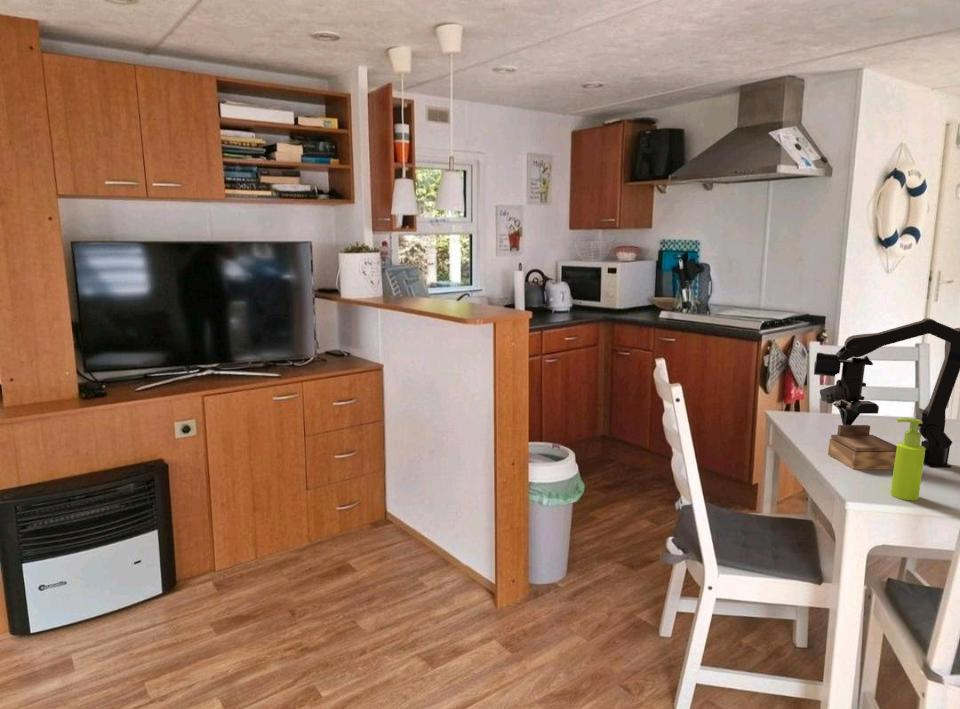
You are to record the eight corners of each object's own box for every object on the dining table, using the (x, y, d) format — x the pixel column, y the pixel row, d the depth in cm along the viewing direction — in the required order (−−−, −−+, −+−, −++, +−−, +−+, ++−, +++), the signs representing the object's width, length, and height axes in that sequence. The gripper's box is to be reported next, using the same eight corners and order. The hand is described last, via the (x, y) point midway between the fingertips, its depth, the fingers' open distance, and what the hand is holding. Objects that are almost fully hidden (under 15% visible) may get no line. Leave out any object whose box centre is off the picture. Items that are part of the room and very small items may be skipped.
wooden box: (869, 454, 192) (871, 438, 191) (897, 468, 181) (900, 452, 180) (827, 454, 192) (829, 438, 191) (853, 469, 180) (855, 452, 179)
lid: (871, 437, 191) (873, 424, 190) (899, 450, 180) (900, 437, 179) (831, 438, 190) (832, 425, 190) (855, 450, 179) (857, 437, 178)
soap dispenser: (883, 489, 166) (893, 414, 162) (914, 493, 163) (925, 417, 160) (888, 497, 160) (899, 420, 157) (921, 502, 158) (932, 423, 154)
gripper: (808, 371, 199) (803, 419, 202) (845, 385, 181) (838, 438, 184) (843, 371, 200) (837, 419, 203) (883, 385, 182) (876, 438, 184)
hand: (845, 428), depth 193 cm, fingers closed
